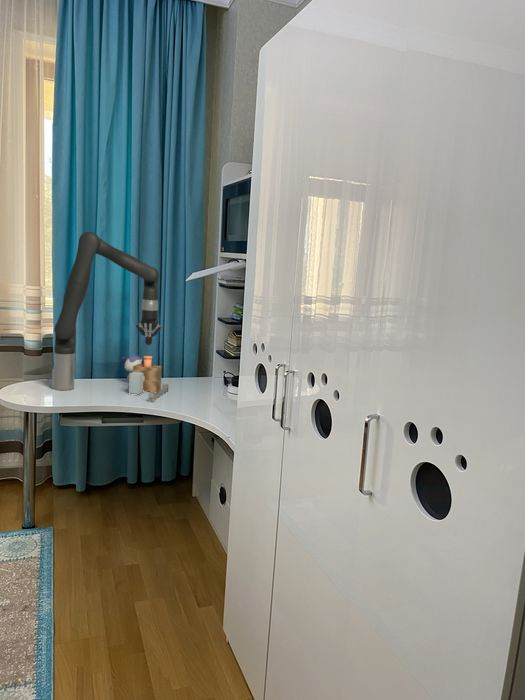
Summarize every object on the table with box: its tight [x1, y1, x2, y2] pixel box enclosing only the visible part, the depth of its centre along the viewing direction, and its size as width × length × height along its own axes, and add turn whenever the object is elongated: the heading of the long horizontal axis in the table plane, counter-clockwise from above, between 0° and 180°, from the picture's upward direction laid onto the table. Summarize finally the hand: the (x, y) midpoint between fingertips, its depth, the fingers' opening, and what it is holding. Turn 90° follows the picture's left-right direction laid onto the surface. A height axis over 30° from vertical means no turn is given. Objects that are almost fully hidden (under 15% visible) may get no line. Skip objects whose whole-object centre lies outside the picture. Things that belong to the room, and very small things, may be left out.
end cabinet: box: [133, 364, 163, 393], centre depth 289 cm, size 12×8×12 cm, turn 81°
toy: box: [122, 354, 144, 381], centre depth 300 cm, size 11×10×15 cm
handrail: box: [147, 383, 169, 403], centre depth 279 cm, size 2×22×4 cm, turn 171°
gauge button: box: [143, 355, 153, 368], centre depth 289 cm, size 4×4×8 cm
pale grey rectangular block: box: [128, 372, 144, 396], centre depth 281 cm, size 5×5×10 cm
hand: (148, 344), depth 287 cm, fingers closed
